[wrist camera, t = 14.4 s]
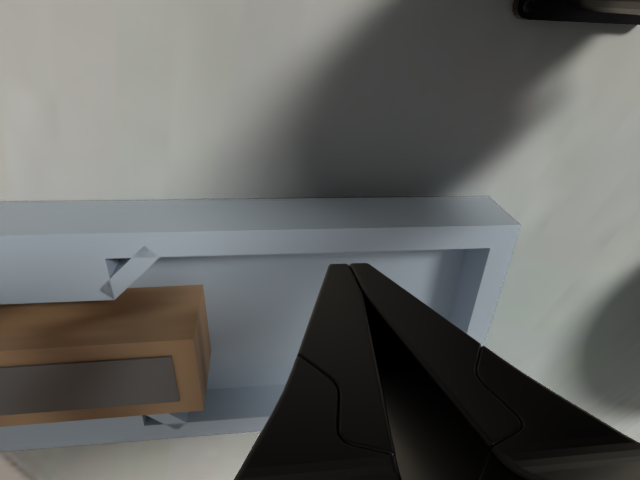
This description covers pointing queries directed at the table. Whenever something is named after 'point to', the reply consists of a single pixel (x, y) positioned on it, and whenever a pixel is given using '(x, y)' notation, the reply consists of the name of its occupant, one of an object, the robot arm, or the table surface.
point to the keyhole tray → (246, 282)
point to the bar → (104, 356)
